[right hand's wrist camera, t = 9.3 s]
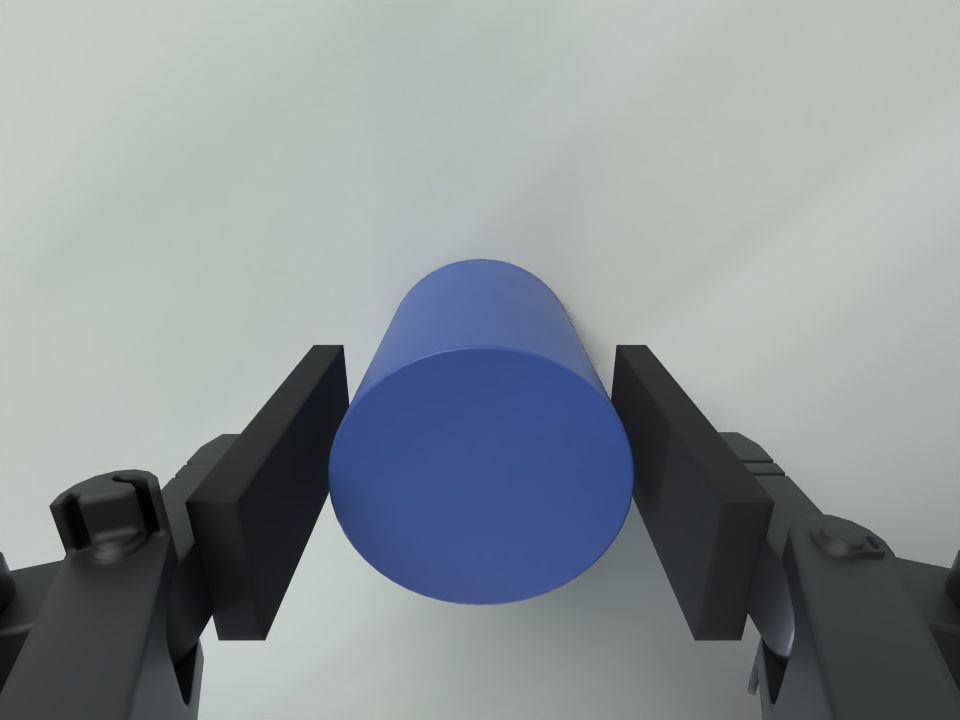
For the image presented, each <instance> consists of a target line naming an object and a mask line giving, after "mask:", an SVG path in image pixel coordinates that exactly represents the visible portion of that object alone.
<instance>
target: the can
mask: <svg viewBox="0 0 960 720" xmlns="http://www.w3.org/2000/svg"><path fill="white" fill-rule="evenodd" d="M634 477H635V472H634V459H633V454H632V450H631V445H630V441H629V438H628V436H627V434H626V431H625V429H624V426H623V424H622V422H621V420H620V418H619V416H618V414H617V412H616V410H615V408H614V406H613V404H612V402H611V400H610V398H609V396H608V394H607V392H606V390H605V388H604V386H603V385H602V383H601V381H600V379H599V377H598V375H597V373H596V371H595V369H594V367H593V365H592V363H591V361H590V359H589V357H588V355H587V353H586V351H585V349H584V347H583V345H582V343H581V341H580V339H579V337H578V335H577V333H576V331H575V329H574V327H573V326H572V324H571V322H570V320H569V318H568V316H567V314H566V312H565V310H564V308H563V306H562V305H561V303H560V301H559V300H558V298H557V297H556V295H555V294H554V293H553V292H552V291H551V289H550V288H549V287H548V286H547V285H546V284H544V283H543V282H542V281H541V280H540V279H538V278H537V277H536V276H534V275H533V274H531V273H530V272H528V271H526V270H524V269H522V268H520V267H517V266H515V265H512V264H509V263H505V262H501V261H496V260H486V259H478V260H466V261H461V262H456V263H453V264H450V265H447V266H444V267H442V268H440V269H438V270H436V271H434V272H432V273H431V274H429V275H427V276H426V277H424V278H423V279H422V280H421V281H420V282H418V283H417V284H416V285H415V286H414V287H413V288H412V289H411V290H410V291H409V292H408V294H407V295H406V296H405V298H404V299H403V301H402V302H401V304H400V305H399V307H398V309H397V311H396V313H395V315H394V317H393V320H392V322H391V324H390V326H389V328H388V330H387V332H386V334H385V336H384V338H383V340H382V342H381V344H380V346H379V348H378V350H377V352H376V354H375V356H374V358H373V360H372V362H371V364H370V366H369V368H368V370H367V372H366V374H365V376H364V378H363V380H362V382H361V384H360V386H359V388H358V390H357V392H356V394H355V396H354V398H353V400H352V402H351V404H350V406H349V408H348V410H347V412H346V414H345V416H344V418H343V420H342V422H341V424H340V426H339V428H338V430H337V433H336V435H335V438H334V442H333V445H332V448H331V452H330V459H329V466H328V483H329V490H330V496H331V502H332V505H333V508H334V511H335V514H336V517H337V520H338V522H339V524H340V526H341V528H342V530H343V532H344V534H345V535H346V537H347V538H348V540H349V541H350V543H351V544H352V545H353V547H354V548H355V549H356V550H357V552H358V553H359V554H360V555H361V556H362V557H363V558H364V559H365V560H366V561H367V562H368V563H369V564H370V565H371V566H373V567H374V568H375V569H376V570H377V571H378V572H380V573H381V574H383V575H384V576H386V577H387V578H389V579H390V580H392V581H393V582H395V583H397V584H399V585H401V586H403V587H404V588H406V589H408V590H411V591H413V592H416V593H418V594H421V595H423V596H426V597H430V598H434V599H437V600H441V601H446V602H452V603H457V604H469V605H496V604H504V603H512V602H517V601H521V600H525V599H529V598H533V597H536V596H539V595H541V594H544V593H547V592H549V591H552V590H554V589H556V588H558V587H560V586H562V585H564V584H566V583H567V582H569V581H571V580H572V579H574V578H576V577H577V576H579V575H580V574H581V573H583V572H584V571H585V570H586V569H588V568H589V567H590V566H591V565H593V564H594V563H595V562H596V561H597V560H598V559H599V558H600V557H601V556H602V555H603V554H604V552H605V551H606V550H607V549H608V547H609V546H610V545H611V543H612V542H613V541H614V539H615V538H616V536H617V534H618V533H619V531H620V529H621V527H622V526H623V523H624V521H625V518H626V516H627V513H628V511H629V508H630V504H631V499H632V495H633V490H634Z"/></svg>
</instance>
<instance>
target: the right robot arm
mask: <svg viewBox="0 0 960 720" xmlns="http://www.w3.org/2000/svg"><path fill="white" fill-rule="evenodd" d="M611 402H612V404H613V406H614V408H615V410H616V412H617V414H618V416H619V418H620V420H621V422H622V424H623V426H624V429H625V431H626V434H627V436H628V438H629V441H630V445H631V450H632V454H633V459H634V472H635V477H634V490H633V495H632V496H633V498H634V501H635V503H636V505H637V507H638V510H639V512H640V514H641V517H642V519H643V521H644V524H645V526H646V528H647V531H648V533H649V535H650V538H651V540H652V542H653V544H654V547H655V549H656V551H657V554H658V556H659V558H660V561H661V563H662V565H663V568H664V570H665V572H666V575H667V577H668V579H669V582H670V584H671V586H672V588H673V591H674V593H675V595H676V598H677V600H678V602H679V605H680V607H681V609H682V612H683V614H684V616H685V619H686V621H687V623H688V625H689V628H690V630H691V632H692V635H693V637H694V639H695V640H741V639H742V635H743V631H744V627H745V623H746V619H747V615H748V613H749V615H750V617H751V618H752V620H753V622H754V624H755V625H756V627H757V629H758V631H759V632H760V634H761V639H760V642H759V646H758V650H757V654H756V658H755V662H754V665H753V669H752V673H751V677H750V681H749V686H748V692H747V693H749V694H752V695H755V693H756V690H757V686H758V683H759V688H760V697H761V706H762V715H763V720H960V550H959V551H958V553H957V556H956V558H955V561H954V563H953V565H952V568H951V569H949V568H944V567H940V566H935V565H930V564H925V563H920V562H915V561H910V560H905V559H901V558H897V557H895V555H894V553H893V552H892V550H891V549H890V548H889V546H888V545H887V544H886V543H885V541H884V540H882V539H881V538H879V537H878V536H877V535H875V534H874V533H873V532H871V531H870V530H868V529H866V528H864V527H862V526H860V525H858V524H856V523H854V522H852V521H849V520H846V519H842V518H839V517H835V516H832V515H824V514H823V513H822V512H821V511H820V510H819V509H818V508H817V507H816V506H815V505H814V504H813V503H812V501H811V500H810V499H809V498H808V497H807V496H806V495H805V494H804V493H803V492H802V491H801V490H800V489H799V487H798V486H797V485H796V484H795V483H794V482H793V481H792V480H791V479H790V478H789V477H788V476H785V472H784V471H783V470H782V469H781V468H780V467H779V466H778V465H777V464H776V463H773V459H772V458H771V457H770V456H769V455H768V454H767V453H766V452H765V451H764V450H763V448H762V447H761V446H760V445H758V444H757V443H755V442H753V441H751V440H750V439H748V438H746V437H745V436H743V435H741V434H740V433H738V432H717V431H716V430H715V428H714V427H713V426H712V425H711V423H710V422H709V421H708V420H707V419H706V417H705V416H704V415H703V414H702V412H701V411H700V410H699V409H698V408H697V406H696V405H695V404H694V403H693V402H692V400H691V399H690V398H689V397H688V395H687V394H686V393H685V392H684V391H683V389H682V388H681V387H680V386H679V385H678V383H677V382H676V381H675V380H674V378H673V377H672V376H671V375H670V374H669V372H668V371H667V370H666V369H665V367H664V366H663V365H662V364H661V363H660V361H659V360H658V359H657V358H656V357H655V355H654V354H653V353H652V352H651V350H650V349H649V348H648V347H647V346H646V345H617V346H616V356H615V366H614V376H613V386H612V396H611ZM348 408H349V397H348V387H347V377H346V367H345V357H344V347H343V345H314V346H313V347H312V348H311V349H310V350H309V352H308V353H307V354H306V355H305V356H304V358H303V359H302V360H301V361H300V363H299V364H298V365H297V366H296V367H295V369H294V370H293V371H292V372H291V374H290V375H289V376H288V377H287V378H286V380H285V381H284V382H283V383H282V384H281V386H280V387H279V388H278V389H277V391H276V392H275V393H274V394H273V395H272V397H271V398H270V399H269V400H268V402H267V403H266V404H265V405H264V406H263V408H262V409H261V410H260V411H259V412H258V414H257V415H256V416H255V417H254V419H253V420H252V421H251V422H250V423H249V425H248V426H247V427H246V428H245V429H244V431H243V432H242V433H241V434H222V435H220V436H219V437H217V438H215V439H214V440H212V441H210V442H209V443H207V444H205V445H204V446H202V447H200V449H199V450H198V451H197V452H196V453H195V454H194V455H193V456H192V457H191V458H190V459H189V461H188V462H187V465H184V466H183V467H182V468H181V469H180V470H179V471H178V473H177V474H176V476H175V478H172V479H171V480H170V481H169V482H168V483H167V485H166V486H165V487H164V488H163V489H162V490H161V489H160V486H159V482H158V478H157V477H156V476H155V475H153V474H152V473H150V472H148V471H142V470H135V469H134V470H122V471H114V472H110V473H106V474H102V475H98V476H95V477H92V478H90V479H88V480H85V481H83V482H80V483H78V484H76V485H74V486H73V487H71V488H69V489H68V490H66V491H65V492H63V493H62V494H60V495H59V496H58V497H57V498H56V499H55V500H54V501H53V502H52V503H51V505H50V506H49V507H50V510H51V512H52V515H53V518H54V521H55V524H56V526H57V529H58V532H59V535H60V538H61V540H62V543H63V546H64V549H65V552H66V556H65V558H64V560H61V561H57V562H52V563H47V564H42V565H37V566H32V567H28V568H23V569H18V570H13V571H10V570H9V568H8V566H7V563H6V561H5V558H4V556H3V553H1V552H0V720H197V717H198V708H199V699H200V689H201V680H202V671H203V662H204V657H203V651H202V646H201V642H200V639H199V637H200V635H201V634H202V632H203V630H204V628H205V627H206V625H207V623H208V621H209V619H210V618H211V616H212V615H213V619H214V623H215V627H216V631H217V635H218V639H219V640H265V639H266V637H267V635H268V632H269V630H270V628H271V625H272V623H273V621H274V618H275V616H276V614H277V612H278V609H279V607H280V605H281V602H282V600H283V598H284V595H285V593H286V591H287V588H288V586H289V584H290V581H291V579H292V577H293V575H294V572H295V570H296V568H297V565H298V563H299V561H300V558H301V556H302V554H303V551H304V549H305V547H306V544H307V542H308V540H309V537H310V535H311V533H312V531H313V528H314V526H315V524H316V521H317V519H318V517H319V514H320V512H321V510H322V507H323V505H324V503H325V500H326V498H327V496H328V494H329V491H330V490H329V483H328V466H329V459H330V452H331V448H332V445H333V442H334V438H335V435H336V433H337V430H338V428H339V426H340V424H341V422H342V420H343V418H344V416H345V414H346V412H347V410H348Z"/></svg>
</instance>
